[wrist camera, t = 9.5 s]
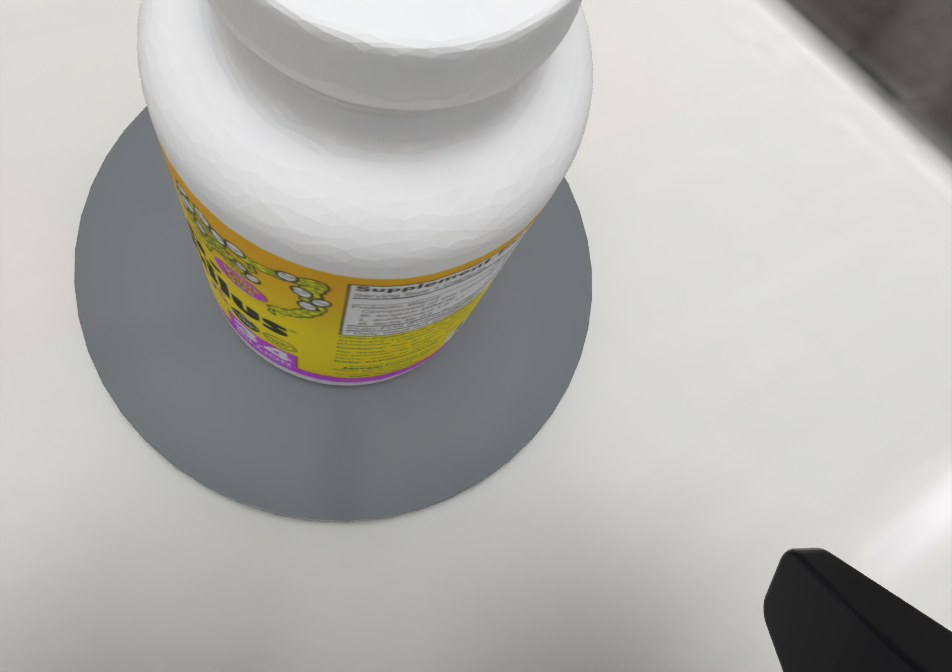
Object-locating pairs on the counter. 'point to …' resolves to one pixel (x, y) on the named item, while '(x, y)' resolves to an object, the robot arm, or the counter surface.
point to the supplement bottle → (361, 161)
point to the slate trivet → (307, 402)
